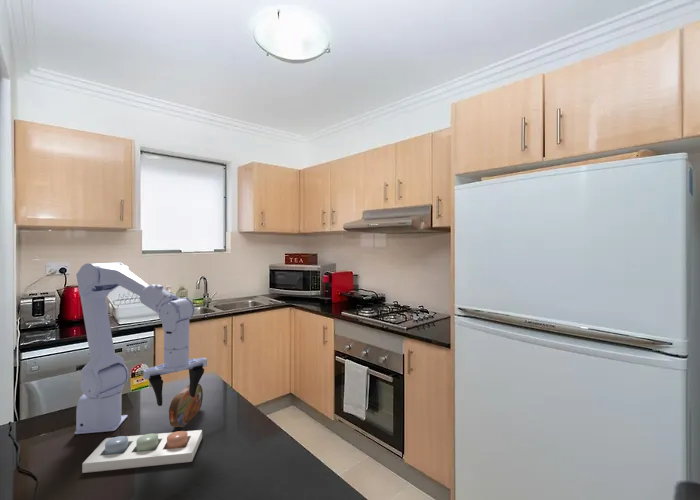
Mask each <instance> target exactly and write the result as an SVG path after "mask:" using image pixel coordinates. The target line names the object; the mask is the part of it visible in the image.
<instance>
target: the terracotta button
mask: <svg viewBox="0 0 700 500" xmlns="http://www.w3.org/2000/svg"><path fill="white" fill-rule="evenodd" d="M185 431H186V430H180V431H174V433H172V432H170V433H171V434H170V435H168V436H167V449H174V448H185V447H186V446H187V440H188V434H187V432H185Z"/></svg>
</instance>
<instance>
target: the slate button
mask: <svg viewBox="0 0 700 500" xmlns="http://www.w3.org/2000/svg"><path fill="white" fill-rule="evenodd" d="M126 436H127V435H126ZM126 436H125V435H119V436H115V437H111V438H112V439H110V440H108V441H107V442H106V443H105V455H112V454H122V453H124V452H125V451H126V450H127V448H128V437H126Z"/></svg>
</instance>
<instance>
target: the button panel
mask: <svg viewBox="0 0 700 500" xmlns="http://www.w3.org/2000/svg"><path fill="white" fill-rule="evenodd" d="M184 431H185V432H187V434H188V440H187V446H186V447H185V448H174V449H167V436H168V435H170V434H171V433H174V432H175V431H174V432H162V433H161V432H160V433H156V434H157V435H158V447H157V448H156V450H153V451H143V452H136V441H137V439H138V438H139V437H141V436H143V435H144V434H137V435H129V436H128V435H126V437H128V448H127V450H126V451H125V452H124V453H122V454H112V455H105V443H106V442H107V441H108V440H110V439H112V438H113V437H106V438H105V439H104V440H102V441H101V442H100V443H99V445H97V447H96V448H95V449H94V450H93V452H92V453H91V454H90V455H89V456H88V457H87V458H86V459H85V460H84V461H83V462H82V466H81V468H82V471H81V472H82V474H84V473H85V474H86V473H94V472H95V473H96V472H104V471H106V472H107V471H113V470H114V471H115V470H124V469H135V468H143V467H144V468H145V467H153V466H162V465H163V466H164V465H173V464H181V463H183V464H184V463H191V462H193V460H194V458H195V455H196V453H197V452H198V451H197V450H198V448H199V446H200V444H201V441H202V439H203V430H202V429H196V430H187V431H186V430H184Z"/></svg>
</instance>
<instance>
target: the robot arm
mask: <svg viewBox="0 0 700 500" xmlns="http://www.w3.org/2000/svg"><path fill="white" fill-rule="evenodd" d="M75 275H76V280H77V287H78V294H79V296H80V303H81V308H82V314H83V321H84V327H85V332H86V339H87V345H88V350H89V351H88V352H89V357H90V358H89V359H90V360H89V361H88V362H87V363H86V364H85V365H84V367H82V369H81V371H80V372H81V380H80V390H81V392H82V395H81V396H80V397H79V399H78V401H77V404H76V409H75V410H76V411H75V412H76V414H75V415H76V416H75V417H76V418H75V420H76V421H75V422H76V426H75V432H74V435H80V434H91V433H93V434H94V433H104V432H114V431H116V430H117V429H118V428H119V427H120V426H121V425H122V424H123V422H124V421H125V420H126V419H127V418H128V417H129V416H128V414H123V415H122V405H123V404H122V397H123V396H122V395H123V394H122V390H123V389H125V384H126V383H127V382H128V380H129V378H130V371H129V369H128V366H127V365H126V363H125V360H124V357H122V356H121V355H119V354H116V353H115V347H114V342H113V341H114V340H113V334H112V330H111V329H112V328H111V322H110V317H109V311H108V305H107V299H106V298H107V297H108V295H109V294H110V293H111V292H113V291H114V290H115V289H117V288H118V287H119V286H120V287H121V288H123V289H125V290H127V291H130V292H131V293H133V294H135V295H136V296H139V302H140V303H141V304H143V305H144V306H145V307H147V308H148V309H151V310H152V311H153V312H155V313H156V314H157V315H158V317H159V320H160V321H161V325H162V327H161V329H163V350H164V351H163V363H161V364H158V365H155V366H152V367H148V368H145V369H143V370H142V371H143V373H142V376H143V377H142V378H143V379H144V380H148V381H149V383H150V385H151V387H152V389H153V392H154V394H155V399H156V405H158V407H162V406H163V387H164V380H163V379H162V376H164V375H169V374H172V373H177V372H182V371H188V373H189V374H188V375H189V376H188V377H189V385H190V387H189V393H190V396H191V397H195V393H196V389H197V386H198V384H200V383H199V382H200V380H201V378H202V377H203V375H204V372H205V367H208V359H207V358H206V357H198V358H197V357H196V358H190V319H192V317H193V316H194V314H195V311H196V310H195V305H194V303H193V301H192V300H191V299H189V297H178V295H177V294H175V293H171V292H170V291H168V290H167V289H165V288H164V285H162V284H155V283H154V284H148V283H147V282H146V281H144V280H143V279H141V278H140V277H139V276H137V274H135V273H133V272H132V271H131V270H130V266H128V265H125V264H124V263H123V262H120V261H115V262H100V263H98V262H97V263H92V262H87V263H84V264H83V265H82V266H80V269H78V271H77V273H76V274H75Z"/></svg>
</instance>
